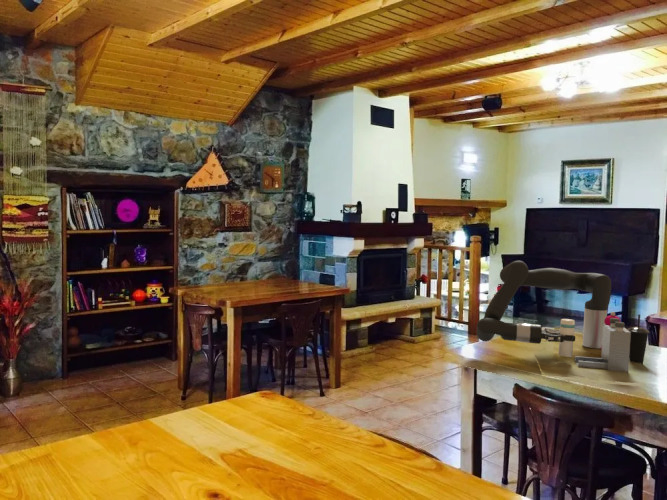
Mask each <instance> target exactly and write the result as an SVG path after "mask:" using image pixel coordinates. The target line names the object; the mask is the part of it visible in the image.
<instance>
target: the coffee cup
mask: <svg viewBox="0 0 667 500" xmlns="http://www.w3.org/2000/svg"><path fill="white" fill-rule="evenodd" d="M575 324H576V323H575V320H574V319H571V318H570V319H569V318H562V319H561V318H560V324H559V326H560V328H559V330H560V334H564V335H574V336H575V326H576V325H575ZM558 343H559V344H558V345H559V346H558V356H561V357H567V358H571V357H573V351H574V341H564V342H558Z"/></svg>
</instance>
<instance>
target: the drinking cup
mask: <svg viewBox="0 0 667 500" xmlns="http://www.w3.org/2000/svg"><path fill="white" fill-rule="evenodd" d="M640 324H641V314H637V326H633V327H632V326H631V327H630V328H627V330H628V331H630V332H631V338H630V353H629V362H632V363H639V364H641V365H644V360H645V353H646V348H647V343H648V342H647V341H648V335H649V333H650V330H648V329H646V328H644V327H640Z"/></svg>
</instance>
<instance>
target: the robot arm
mask: <svg viewBox="0 0 667 500" xmlns="http://www.w3.org/2000/svg"><path fill="white" fill-rule="evenodd" d="M499 272H500V273H499V278H500V280H501V282H503V284H502V286H501V287H500V288H499V290H497V292H495V294H494V296H493V297H492V298H491V300H490V301H489V304H488V305H487V307H486V309H485V312H484V316H483V318H481V319H479V320H478V321H477V324H476V336H477V338H478V339H479V341H482V342H489V341H491V340H492V339H493V338H494V336H495V335H496V336H500V338H501V339H502V340H504V341H513V342H520V343H527V344H529V343H530V344H539V345H540V344H541V343H542V339H543V340H545V341H547V342H549V343H550V342H552V343H559V342H564V341H573V342H576V336H575V334H574V335H564V334H560V329H552V328H546V327H545V328H544V329H543V328H542V325H541V324H534V323H524V322H523V323H522V322H521V323H518V322H517V323H514V322H506V321H502V318H503V316H504V315H505V313H506V310H507V308H508V307H509V305H510V302H511V300H512V299H513V298H514V295H516V292H517V291H518V290H519V288H521V287H536V288H541V289H542V288H543V289H549V290H557V291H558V290H562V291H563V290H565V291H566V290H572V289H573V290H574V289H575V290H579V291H583V292H587V293H591V299H590V300H587V301H585V302H584V315H583V331H582V346H583V347H585V348H591V349H600V350H601V346H602V339H603V325H606V324H605V323H604V320H605V318H606V317H607V316H608V306H609V304H610V300H611V292H612V281H611V278H610V276H608V275H606V274H602V273H596V272H574V271H571V270H567V269H564V268H562V269H561V268H555V267H544V268H536V269H530V270H529V267H528V265H527V264H526V263H525V262H524V261H523V260H514V261H512V262H510V263H509V264H507V265H506V266H504V267H502V269H501V270H500V271H499Z"/></svg>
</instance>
